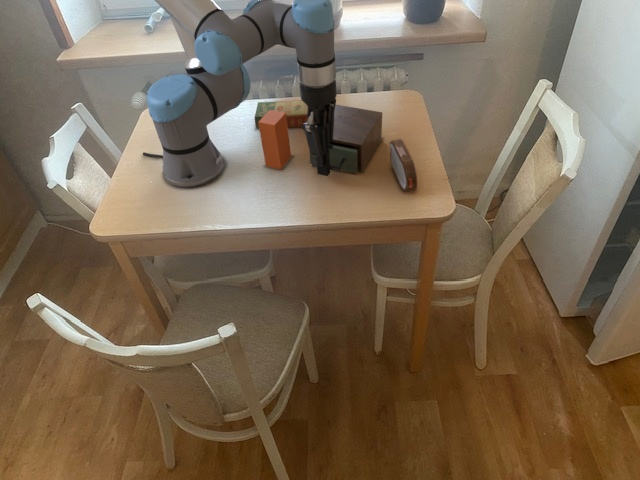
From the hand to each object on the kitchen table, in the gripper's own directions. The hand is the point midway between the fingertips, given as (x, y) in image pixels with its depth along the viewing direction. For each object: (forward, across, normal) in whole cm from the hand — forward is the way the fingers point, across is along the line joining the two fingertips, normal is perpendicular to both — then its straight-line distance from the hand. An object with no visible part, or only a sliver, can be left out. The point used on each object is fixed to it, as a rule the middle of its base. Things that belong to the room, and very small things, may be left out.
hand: (323, 173), depth 113 cm
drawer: (+3, -10, 0) cm, 11 cm away
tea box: (+3, -5, -15) cm, 16 cm away
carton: (+4, -23, -23) cm, 33 cm away
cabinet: (+3, -15, 0) cm, 16 cm away
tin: (+4, -8, +17) cm, 19 cm away
